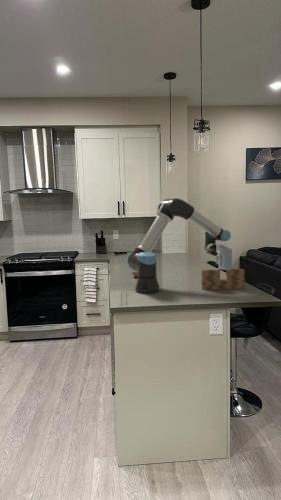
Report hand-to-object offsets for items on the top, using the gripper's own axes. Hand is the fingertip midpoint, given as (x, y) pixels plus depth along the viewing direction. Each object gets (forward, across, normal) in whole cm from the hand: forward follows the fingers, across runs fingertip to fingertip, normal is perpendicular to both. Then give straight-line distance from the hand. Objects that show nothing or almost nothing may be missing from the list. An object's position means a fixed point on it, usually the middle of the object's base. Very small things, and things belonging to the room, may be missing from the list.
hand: (222, 254), depth 195 cm
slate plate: (+3, 0, -7) cm, 7 cm away
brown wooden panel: (+3, 0, -21) cm, 21 cm away
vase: (-38, +53, -21) cm, 69 cm away
